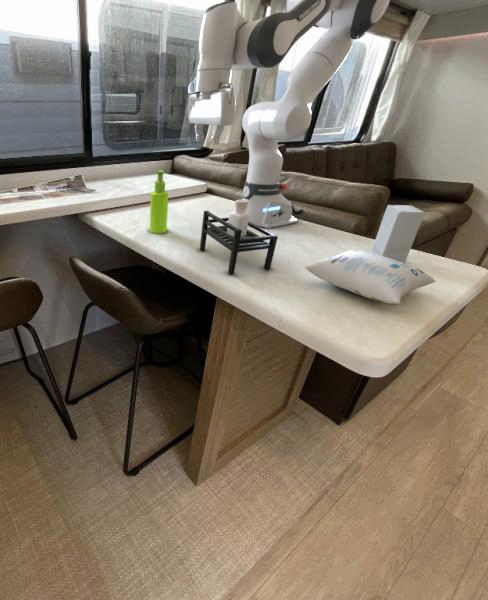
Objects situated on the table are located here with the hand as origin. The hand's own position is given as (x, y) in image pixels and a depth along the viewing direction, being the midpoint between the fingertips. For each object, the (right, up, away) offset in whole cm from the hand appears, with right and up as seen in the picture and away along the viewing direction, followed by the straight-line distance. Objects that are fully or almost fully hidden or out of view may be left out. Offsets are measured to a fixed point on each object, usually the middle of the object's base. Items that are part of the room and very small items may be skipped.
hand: (206, 142), depth 92 cm
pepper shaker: (+7, -27, -3) cm, 28 cm away
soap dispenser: (-12, -20, +23) cm, 33 cm away
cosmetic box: (+50, -34, -1) cm, 60 cm away
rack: (+8, -33, +1) cm, 34 cm away
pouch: (+33, -42, -15) cm, 56 cm away
